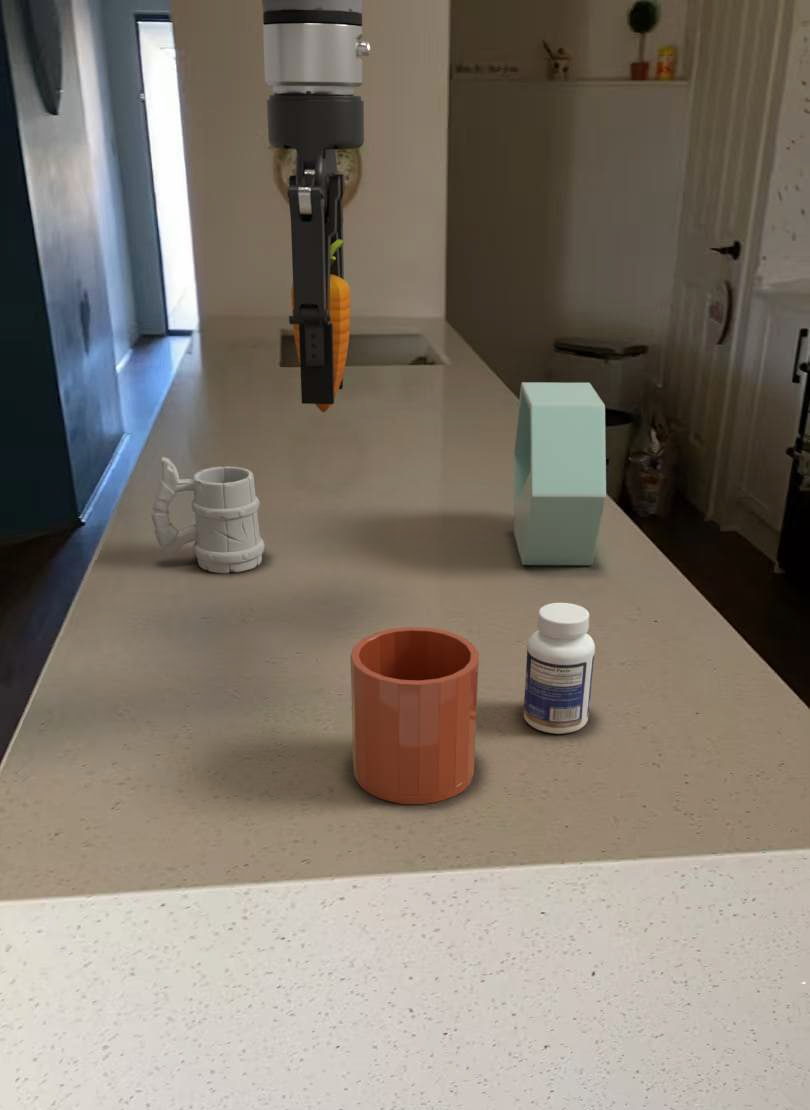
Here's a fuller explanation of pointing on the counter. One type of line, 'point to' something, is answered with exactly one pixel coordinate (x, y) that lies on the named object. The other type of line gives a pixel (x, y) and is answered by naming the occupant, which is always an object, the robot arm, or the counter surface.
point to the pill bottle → (559, 670)
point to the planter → (559, 473)
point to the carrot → (334, 323)
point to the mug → (212, 517)
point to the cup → (414, 714)
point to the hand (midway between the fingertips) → (322, 394)
